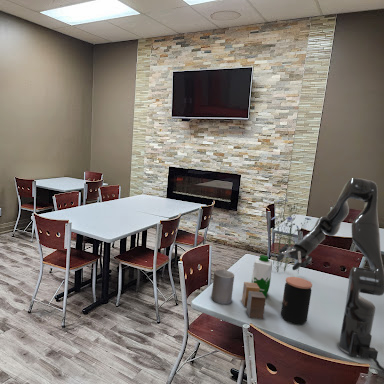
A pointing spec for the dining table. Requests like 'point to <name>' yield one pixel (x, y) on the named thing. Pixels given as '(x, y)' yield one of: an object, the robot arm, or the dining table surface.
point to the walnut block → (256, 304)
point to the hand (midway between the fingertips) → (285, 264)
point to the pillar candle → (222, 286)
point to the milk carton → (262, 273)
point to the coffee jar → (296, 300)
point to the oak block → (246, 289)
